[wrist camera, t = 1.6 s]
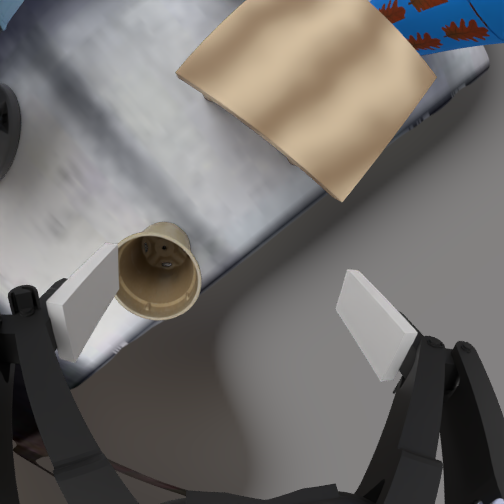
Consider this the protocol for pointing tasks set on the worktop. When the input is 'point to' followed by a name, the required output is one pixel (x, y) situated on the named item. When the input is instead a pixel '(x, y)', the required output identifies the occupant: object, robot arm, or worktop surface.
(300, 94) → the footstool
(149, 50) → the worktop surface
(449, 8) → the thermos
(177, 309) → the flower pot
